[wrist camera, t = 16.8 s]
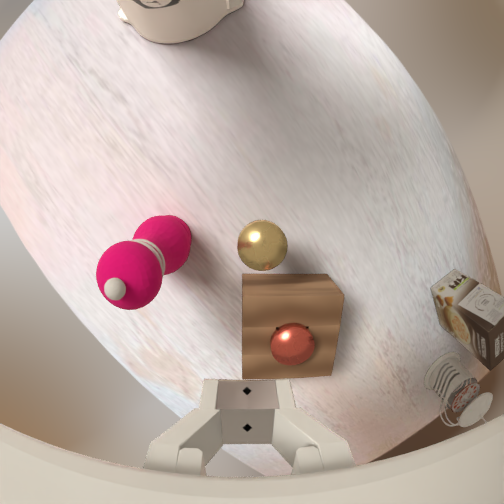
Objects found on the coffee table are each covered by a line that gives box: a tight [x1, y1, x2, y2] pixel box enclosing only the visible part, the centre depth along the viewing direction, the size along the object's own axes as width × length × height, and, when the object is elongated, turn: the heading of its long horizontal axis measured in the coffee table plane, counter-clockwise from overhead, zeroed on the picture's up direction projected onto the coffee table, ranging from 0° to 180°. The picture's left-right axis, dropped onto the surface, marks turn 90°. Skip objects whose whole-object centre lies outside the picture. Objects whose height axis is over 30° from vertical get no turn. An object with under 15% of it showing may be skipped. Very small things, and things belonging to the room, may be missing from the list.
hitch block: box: [242, 274, 344, 379], centre depth 39 cm, size 12×12×8 cm
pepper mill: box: [96, 215, 191, 310], centre depth 30 cm, size 7×7×20 cm
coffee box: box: [431, 269, 504, 371], centre depth 36 cm, size 9×6×16 cm
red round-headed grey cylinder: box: [270, 323, 315, 365], centre depth 38 cm, size 5×5×9 cm
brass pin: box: [237, 220, 287, 271], centre depth 36 cm, size 5×5×9 cm
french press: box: [424, 352, 493, 427], centre depth 37 cm, size 10×12×25 cm
